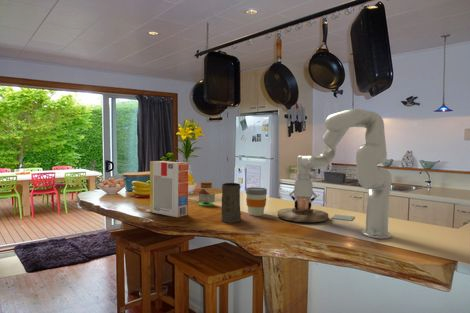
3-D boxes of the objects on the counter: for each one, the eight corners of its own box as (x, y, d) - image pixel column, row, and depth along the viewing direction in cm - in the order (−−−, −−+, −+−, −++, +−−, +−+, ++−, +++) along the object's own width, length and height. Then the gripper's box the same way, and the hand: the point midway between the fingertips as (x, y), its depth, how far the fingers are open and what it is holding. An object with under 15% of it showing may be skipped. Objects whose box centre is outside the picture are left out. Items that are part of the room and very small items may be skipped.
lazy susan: (333, 214, 194) (333, 203, 194) (320, 224, 170) (320, 212, 170) (287, 209, 208) (288, 199, 208) (269, 217, 184) (270, 206, 184)
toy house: (193, 203, 228) (193, 181, 227) (211, 202, 233) (211, 181, 232) (199, 206, 217) (199, 183, 216) (217, 205, 222) (217, 183, 222)
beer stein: (238, 223, 173) (239, 185, 172) (218, 222, 175) (219, 184, 174) (244, 217, 188) (244, 182, 187) (225, 216, 190) (226, 181, 190)
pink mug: (295, 211, 192) (295, 196, 191) (305, 211, 193) (306, 196, 192) (301, 215, 183) (301, 198, 183) (312, 214, 184) (312, 198, 184)
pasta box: (187, 214, 192) (188, 162, 191) (177, 217, 186) (178, 163, 184) (159, 209, 205) (160, 160, 204) (149, 211, 199) (150, 161, 197)
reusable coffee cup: (255, 217, 189) (255, 190, 189) (240, 213, 199) (241, 188, 198) (270, 214, 197) (271, 189, 197) (256, 210, 207) (256, 186, 206)
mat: (351, 221, 184) (351, 220, 184) (331, 218, 189) (331, 217, 189) (354, 217, 194) (354, 216, 194) (335, 215, 199) (335, 214, 199)
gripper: (319, 177, 189) (319, 208, 190) (289, 175, 194) (288, 206, 195) (319, 178, 182) (318, 211, 183) (287, 177, 187) (286, 208, 188)
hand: (302, 208), depth 189 cm, fingers closed on pink mug, 6 cm apart
